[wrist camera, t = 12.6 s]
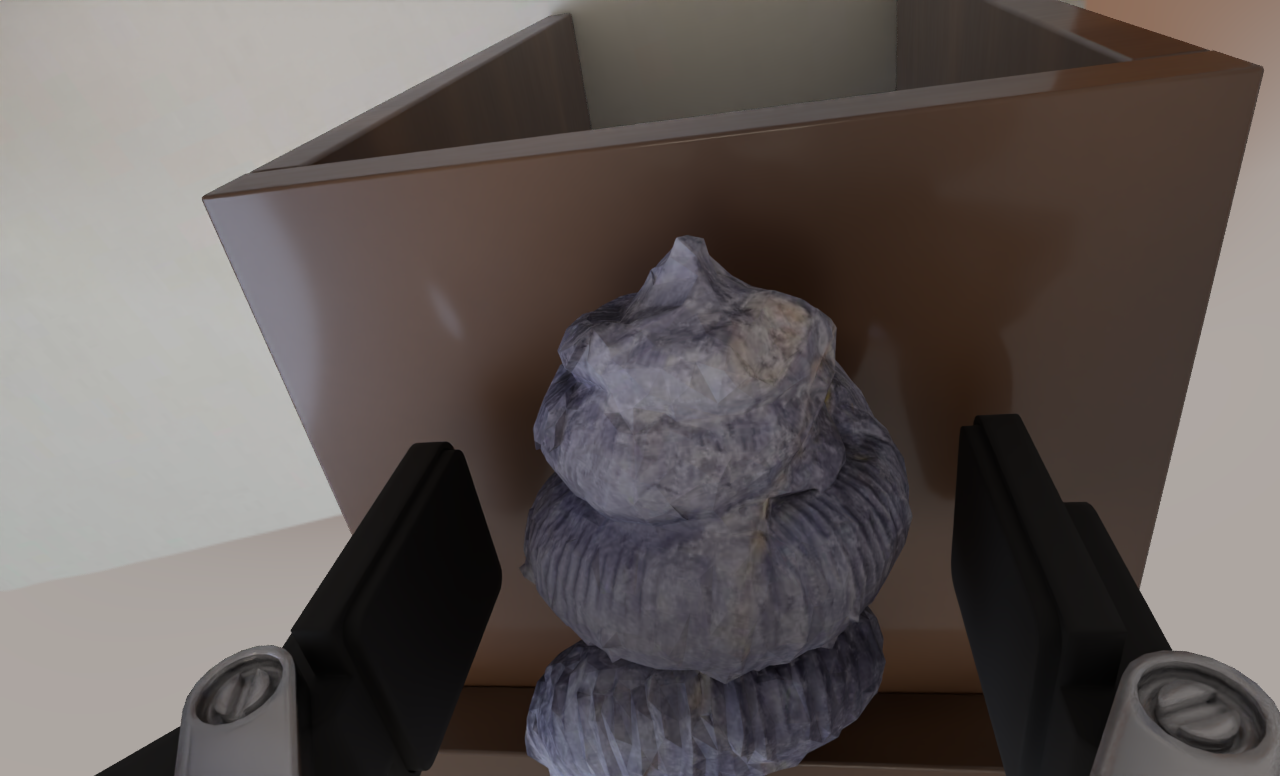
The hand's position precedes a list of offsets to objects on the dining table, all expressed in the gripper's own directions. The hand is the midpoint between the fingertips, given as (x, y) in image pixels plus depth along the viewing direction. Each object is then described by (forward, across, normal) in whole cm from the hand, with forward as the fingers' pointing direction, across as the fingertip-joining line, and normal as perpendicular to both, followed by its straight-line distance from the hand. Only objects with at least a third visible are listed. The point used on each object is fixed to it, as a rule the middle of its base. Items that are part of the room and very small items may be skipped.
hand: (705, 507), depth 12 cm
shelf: (+23, 0, 0) cm, 23 cm away
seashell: (+1, 0, 0) cm, 1 cm away
